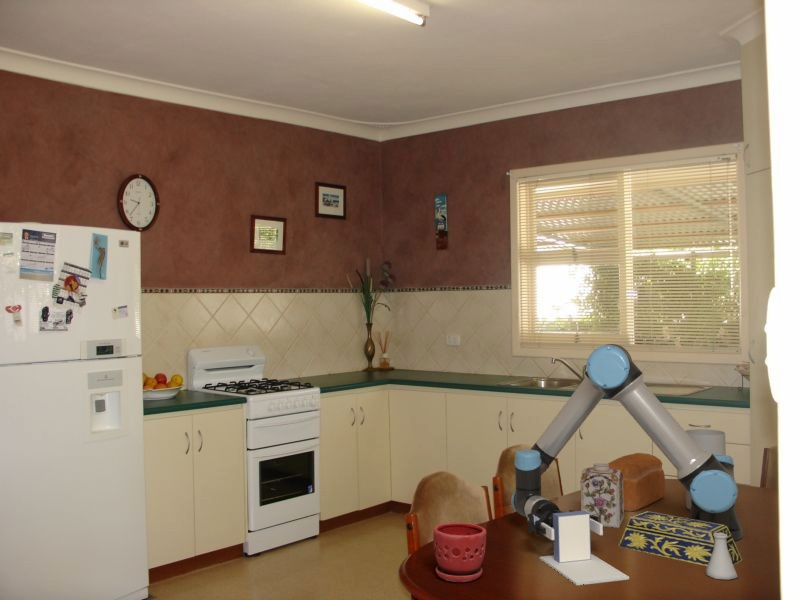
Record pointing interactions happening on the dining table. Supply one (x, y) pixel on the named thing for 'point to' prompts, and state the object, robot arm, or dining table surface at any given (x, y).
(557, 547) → the book
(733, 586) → the dining table surface
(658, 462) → the bread
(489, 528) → the dining table surface
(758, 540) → the dining table surface
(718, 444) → the cylinder vase
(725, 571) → the flask
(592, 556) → the mat
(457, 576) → the plant pot
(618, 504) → the decorative jar
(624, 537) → the decorative box
